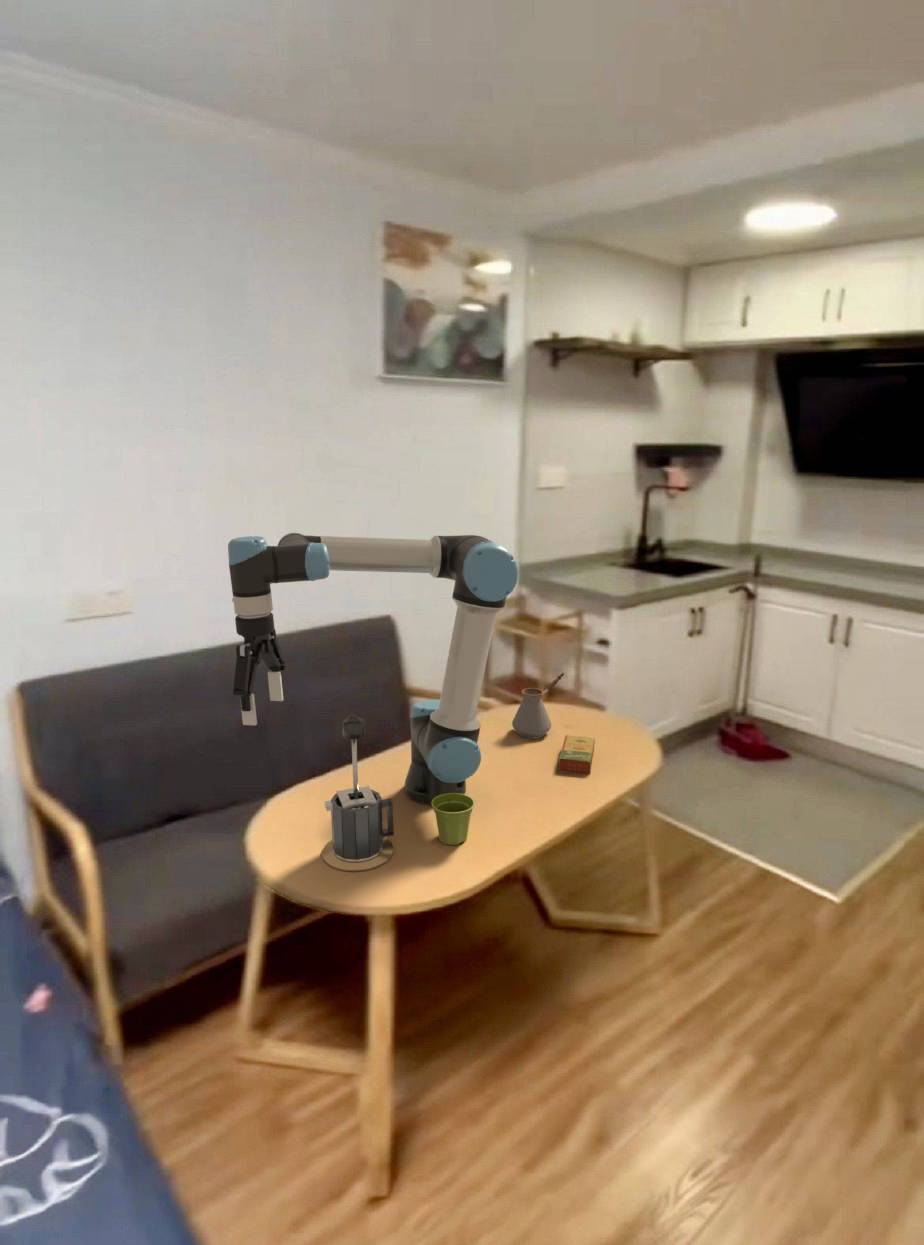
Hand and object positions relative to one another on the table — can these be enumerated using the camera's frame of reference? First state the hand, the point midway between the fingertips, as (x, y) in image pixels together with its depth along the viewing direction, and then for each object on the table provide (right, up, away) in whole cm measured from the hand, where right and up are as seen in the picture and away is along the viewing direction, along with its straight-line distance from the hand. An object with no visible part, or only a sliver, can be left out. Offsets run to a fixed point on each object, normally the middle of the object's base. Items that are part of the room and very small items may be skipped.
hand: (264, 712), depth 166 cm
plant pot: (+40, -29, +9) cm, 50 cm away
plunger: (+19, -21, 0) cm, 28 cm away
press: (+19, -30, +3) cm, 36 cm away
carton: (+72, -19, +48) cm, 89 cm away
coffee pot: (+65, -13, +70) cm, 96 cm away
